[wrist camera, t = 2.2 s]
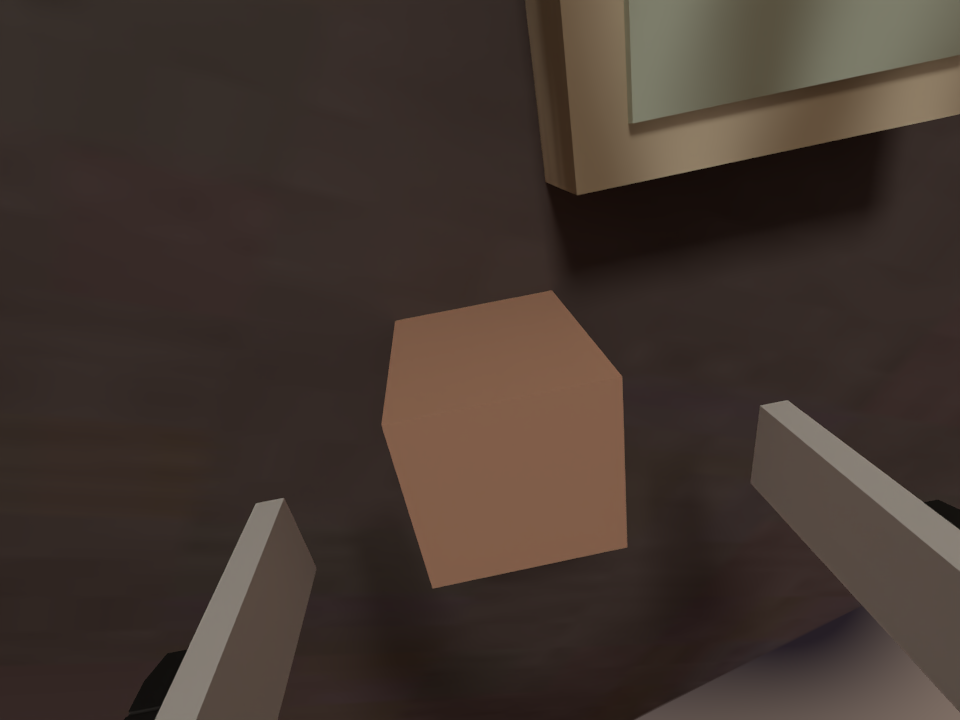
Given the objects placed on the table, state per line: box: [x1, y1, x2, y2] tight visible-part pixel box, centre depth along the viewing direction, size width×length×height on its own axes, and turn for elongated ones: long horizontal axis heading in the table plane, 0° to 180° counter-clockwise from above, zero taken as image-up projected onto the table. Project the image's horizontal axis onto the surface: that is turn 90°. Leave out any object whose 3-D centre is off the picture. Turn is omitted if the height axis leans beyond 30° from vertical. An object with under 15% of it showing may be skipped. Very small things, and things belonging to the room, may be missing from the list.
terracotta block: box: [382, 291, 627, 588], centre depth 16 cm, size 6×6×7 cm
